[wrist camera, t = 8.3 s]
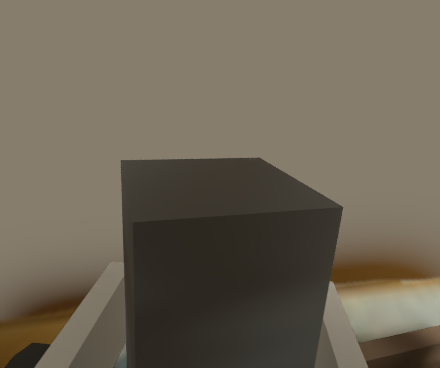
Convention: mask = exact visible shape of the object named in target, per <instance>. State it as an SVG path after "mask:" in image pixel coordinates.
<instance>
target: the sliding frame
mask: <svg viewBox="0 0 440 368" xmlns="http://www.w3.org/2000/svg"><path fill="white" fill-rule="evenodd" d="M121 182H122V216H123V246H124V247H123V249H124V283H125V316H126V349H127V368H314V366H315V360H316V355H317V349H318V344H319V338H320V333H321V327H322V321H323V316H324V310H325V305H326V299H327V294H328V288H329V283H330V276H331V271H332V265H333V259H334V254H335V249H336V244H337V238H338V232H339V227H340V221H341V216H342V210H343V207H342V206H340V205H339V204H337V203H335V202H334V201H332V200H330V199H328V198H327V197H325V196H324V195H322V194H320V193H318V192H317V191H315V190H313V189H312V188H310V187H308V186H307V185H305V184H303V183H301V182H300V181H298V180H296V179H295V178H293V177H291V176H289V175H288V174H286V173H284V172H283V171H281V170H279V169H278V168H276V167H274V166H273V165H271V164H269V163H267V162H266V161H264V160H262V159H261V158H227V159H226V158H223V159H173V160H121ZM358 344H359V346H360V349H361V351H362V353H363V356H364V358H365V361H366V363H367V366H368V368H440V326H435V327H430V328H426V329H421V330H417V331H412V332H408V333H403V334H399V335H394V336H390V337H385V338H381V339H376V340H372V341H367V342H363V343H358Z"/></svg>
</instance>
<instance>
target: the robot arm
mask: <svg viewBox="0 0 440 368" xmlns="http://www.w3.org/2000/svg"><path fill="white" fill-rule="evenodd" d="M125 342H126V316H125V283H124V263H122V262H121V263H120V262H110V264H109V265H108V267H107V268H106V270H105V271H104V272H103V273H102V275H101V276H100V278H99V279H98V280H97V282H96V283H95V285H94V286H93V287H92V289H91V290H90V291H89V293H88V294H87V296H86V297H85V298H84V300H83V301H82V303H81V304H80V306H79V307H78V308H77V309H76V311H75V312H74V314H73V315H72V316H71V318H70V319H69V320H68V322H67V323H66V325H65V326H64V327H63V329H62V330H61V332H60V333H59V334H58V336H57V337H56V338H55V340H54V341H53V343H52V344H51V345H49V344H40V343H32V344H30V345H29V346H27V347H26V348H25V349H23V350H22V351H20V352H19V353H18V354H16V355H15V356H14V357H13V358H12V359H11V360H10V362H9V363H8V364H7V365H6V366H5V368H114V366H115V364H116V362H117V359H118V357H119V355H120V353H121V350H122V348H123V346H124V344H125ZM314 368H368V366H367V363H366V361H365V358H364V356H363V353H362V351H361V349H360V346H359V344H358V341H357V339H356V337H355V334H354V332H353V329H352V327H351V325H350V322H349V320H348V317H347V315H346V313H345V310H344V308H343V305H342V303H341V300H340V298H339V296H338V293H337V291H336V288H335V286H334V284H333V282H330V283H329V288H328V294H327V299H326V305H325V310H324V316H323V321H322V327H321V333H320V338H319V344H318V349H317V355H316V360H315V366H314Z"/></svg>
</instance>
